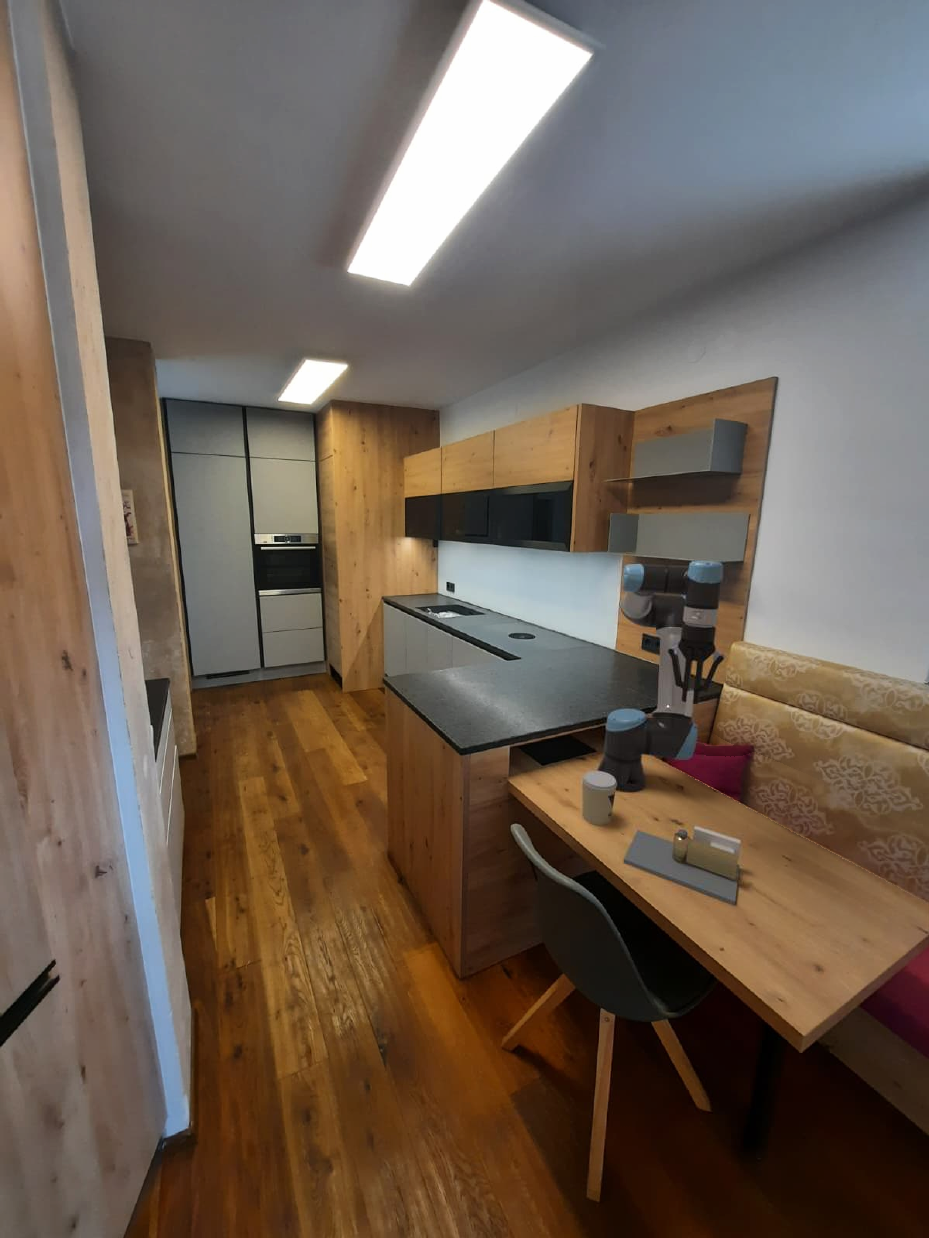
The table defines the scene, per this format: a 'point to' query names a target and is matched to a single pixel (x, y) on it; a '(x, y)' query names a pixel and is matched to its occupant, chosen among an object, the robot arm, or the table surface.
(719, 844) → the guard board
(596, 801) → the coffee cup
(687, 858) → the swing bar
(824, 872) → the table surface
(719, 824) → the table surface
